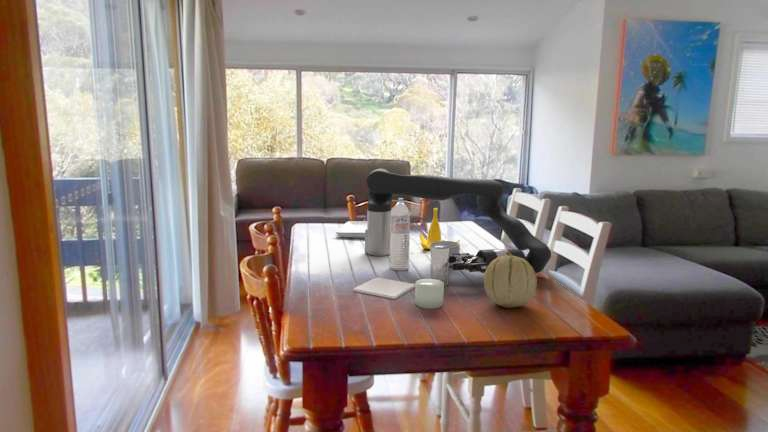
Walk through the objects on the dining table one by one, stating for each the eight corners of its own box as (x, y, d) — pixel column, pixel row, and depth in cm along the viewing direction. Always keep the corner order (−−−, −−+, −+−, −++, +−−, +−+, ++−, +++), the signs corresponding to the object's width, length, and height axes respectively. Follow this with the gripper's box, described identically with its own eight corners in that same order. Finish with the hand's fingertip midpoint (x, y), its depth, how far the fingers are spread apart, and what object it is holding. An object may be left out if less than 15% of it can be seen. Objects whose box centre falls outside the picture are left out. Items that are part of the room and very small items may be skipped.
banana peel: (420, 252, 205) (422, 211, 203) (419, 241, 224) (420, 204, 221) (462, 253, 205) (464, 212, 202) (457, 243, 224) (458, 205, 221)
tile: (353, 291, 155) (353, 288, 154) (376, 279, 167) (376, 277, 167) (394, 299, 148) (394, 296, 148) (415, 286, 160) (415, 284, 160)
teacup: (458, 269, 180) (459, 247, 179) (427, 267, 183) (428, 245, 181) (460, 260, 194) (461, 239, 193) (431, 258, 196) (432, 237, 195)
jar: (410, 305, 143) (411, 285, 142) (420, 296, 150) (421, 277, 149) (438, 310, 140) (439, 289, 139) (446, 301, 147) (447, 281, 146)
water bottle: (411, 267, 183) (413, 197, 178) (405, 272, 176) (407, 200, 172) (393, 265, 185) (394, 196, 181) (386, 269, 178) (388, 199, 174)
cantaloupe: (502, 318, 134) (505, 263, 132) (471, 301, 148) (474, 250, 145) (546, 311, 140) (551, 258, 138) (513, 295, 154) (516, 246, 151)
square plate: (347, 227, 254) (347, 220, 253) (402, 230, 250) (402, 222, 250) (335, 239, 227) (335, 230, 227) (396, 242, 224) (396, 233, 223)
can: (427, 284, 163) (428, 246, 161) (434, 280, 167) (435, 243, 165) (443, 287, 160) (445, 249, 158) (450, 282, 165) (451, 245, 163)
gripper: (484, 244, 174) (439, 246, 169) (504, 254, 160) (457, 257, 156) (482, 266, 175) (438, 268, 171) (503, 277, 162) (456, 280, 157)
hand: (447, 263), depth 163 cm, fingers open, 8 cm apart
